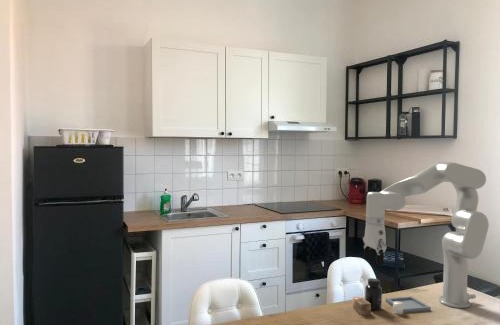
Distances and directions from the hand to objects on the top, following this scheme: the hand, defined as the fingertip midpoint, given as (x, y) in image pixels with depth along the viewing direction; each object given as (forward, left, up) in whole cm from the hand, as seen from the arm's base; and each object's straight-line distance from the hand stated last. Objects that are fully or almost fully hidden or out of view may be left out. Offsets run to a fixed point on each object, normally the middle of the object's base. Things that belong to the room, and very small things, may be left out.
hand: (373, 261), depth 172 cm
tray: (-16, +1, -20) cm, 26 cm away
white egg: (-8, +7, -20) cm, 23 cm away
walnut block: (+7, +4, -20) cm, 22 cm away
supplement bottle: (0, 0, -20) cm, 20 cm away
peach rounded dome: (+6, -1, -20) cm, 21 cm away
